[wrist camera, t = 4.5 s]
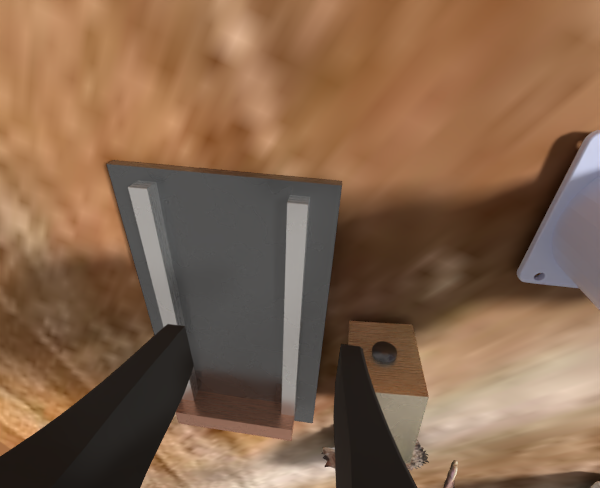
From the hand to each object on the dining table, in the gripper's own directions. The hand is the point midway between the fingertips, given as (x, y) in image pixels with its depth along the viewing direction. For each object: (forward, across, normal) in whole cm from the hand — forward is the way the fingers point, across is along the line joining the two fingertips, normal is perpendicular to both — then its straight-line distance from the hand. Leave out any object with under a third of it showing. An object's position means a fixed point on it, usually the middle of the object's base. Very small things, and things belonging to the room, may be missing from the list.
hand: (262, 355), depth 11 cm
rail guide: (+8, +4, +7) cm, 11 cm away
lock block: (+9, -6, +10) cm, 14 cm away
